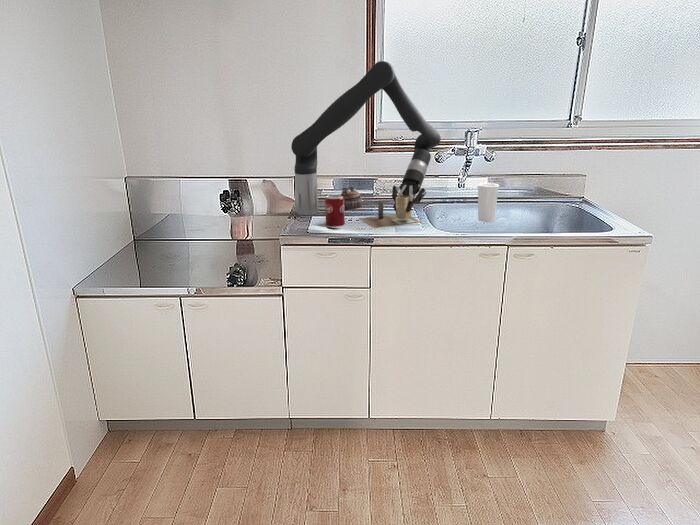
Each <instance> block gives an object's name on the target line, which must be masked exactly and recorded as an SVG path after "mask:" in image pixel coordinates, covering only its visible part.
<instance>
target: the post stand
mask: <svg viewBox="0 0 700 525" xmlns="http://www.w3.org/2000/svg"><path fill="white" fill-rule="evenodd" d="M377 205H378V206H377V207H378V208H377V209H378V210H377V212H378V213H377V214H378V215H376V216H368V217H359V218H358V220H360V221H361V222H364V223H365V225H366V224H367V225H368V226H370V227H371V228H373V229H377V228H386V227H394V226H402V225H411V224H419V223H422V221H420V220H419V219H416V218H415V217H413V216H411V217H410V218H408V219H399V218H396V213H394V214H387V215H384V200H378V202H377Z"/></svg>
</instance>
